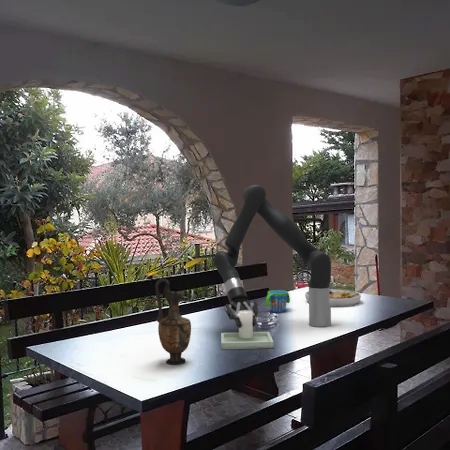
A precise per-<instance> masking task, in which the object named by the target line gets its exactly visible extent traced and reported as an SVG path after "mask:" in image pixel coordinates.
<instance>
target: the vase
mask: <svg viewBox="0 0 450 450" xmlns="http://www.w3.org/2000/svg"><path fill="white" fill-rule="evenodd" d="M161 283H165V286H164V289H163V290H162V291H163V292H162V295H163V297H164V298H165V299H166V301H167V304H168V314H167V316H166V317H163V307H162V299H161V294H160V290H159V289H160V288H159V286H160V284H161ZM170 284H171V283H170V281H169V280H168V279H166V278H160V279H158V280H157V281H155V285H154V288H155V295H156V302H157V308H158V316H157V318H156V322H157V323H158V325H157V326H158V328H157V329H158V330H157V331H158V337H159V342H160V344H161V347H162V349H164V351H166V352H167V353H168V354H169V358H168V359H166V362H165V363H166V364H167V365H171V366H178V365H179V366H180V365H183V364H185V363H186V362H187V360H186V359H185V358H184V357H182V355H183V354H182V353H184V351H186V350H187V349H188V347H189V345H190V341H191V334H192V323H191V320H190V319H189V318H187V317H183V316H182V315H181V313H180V308H179V307H180V306H179V305H180V301H181V299H185V295H183V294H181V293H178V292H176V291H174V290H173V291H172V290H171V289H170Z"/></svg>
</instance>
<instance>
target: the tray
mask: <svg viewBox="0 0 450 450" xmlns="http://www.w3.org/2000/svg"><path fill="white" fill-rule="evenodd" d="M220 345H221V346H220V347H221V350H250V349H251V350H254V349H257V350H259V349H260V350H261V349H274V346H275V344H274V340H273V338H272V334H271V333H270V331H253V337H251V338H241V337H239V331H238V332H220Z"/></svg>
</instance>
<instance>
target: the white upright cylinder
mask: <svg viewBox="0 0 450 450" xmlns="http://www.w3.org/2000/svg"><path fill="white" fill-rule="evenodd" d="M238 318H240V321H241V324H242V326H241V328H238V332H239V337H241V338H251V337H253V332H254V330H253V329H254V327H253V310H252V311H251V310H241V311H239V316H238Z"/></svg>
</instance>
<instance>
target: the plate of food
mask: <svg viewBox="0 0 450 450" xmlns="http://www.w3.org/2000/svg"><path fill="white" fill-rule="evenodd" d="M304 298H305V300H306V301H307V302H308V303H309V290H308V291H306V292H305V297H304ZM329 298H330V305H331V308H342V307H351V306H354V305H356V304H358V303H359V302H360V301H361V293H360V292H358V291H354V290H348V289H338V288H337V289H335V288H331V289H330V288H329Z"/></svg>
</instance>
